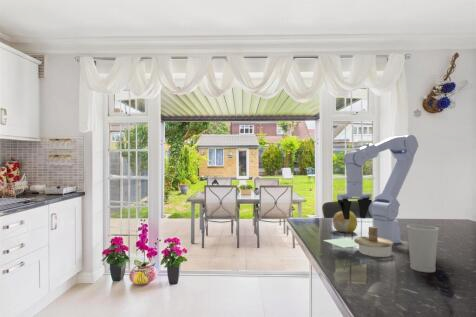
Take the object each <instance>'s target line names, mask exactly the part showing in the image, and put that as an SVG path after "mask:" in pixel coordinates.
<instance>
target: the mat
mask: <svg viewBox="0 0 476 317" xmlns="http://www.w3.org/2000/svg"><path fill="white" fill-rule="evenodd" d="M322 241H323V242H326V243H329V244H331V245H334V246H337V247H339V248H343V249H344V248H345V249H346V248H352V247H353V248H355V247H359V244H357V243H355V242H354V239H351V238H349V237H344V238H333V239H324V240H322Z"/></svg>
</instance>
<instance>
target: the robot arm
mask: <svg viewBox="0 0 476 317" xmlns="http://www.w3.org/2000/svg"><path fill="white" fill-rule="evenodd" d="M418 148H419V142H418V139H417V137H416V136H415V135H414V134H408V135H401V136H400V135H398V136H390V137H387V138H385V139H384V140H382V141H380V142H377V143H376V144H373V143H370V142H367V143H364V145H363V146H362V147H361V146H360V147H356V148H355V149H354V150H350V151H347V152H346V153H345V155H344V156H343V158H342V161H343V163H344V166H345V169H346V193H340V194H339V193H338V194H336V195H337V199H336V200H337V203H338V205H339V206H340V209H341V211H342V212H343V216H344V219H349V217H350V211H351V206H352V203H353V202H352V201H351V200H357V204H358V207H359V208H358V209H359V210H358V211H359V218H361V219H366V217H367V213H368V212H369V214H370V215H371V218H372V220H373V221H372V222H373V223H372V227H377V228H378V237H379V238H384V239H388V240H391V241H392V242H393V244H398V243H399V244H400V243H402V242H403V241H402V240H401V225H400V222H399V221H398V220H397V217H398V215H399V209H400V206H401V204H400V201H398V199H397V197H398V195H399V193H400V192H401V189H402V187H403V185H404V182H405V180H406V178H407V176H408V175H409V174H408V173H409V171H410V170H411V167H412V165H413V162H414V159H415V158H414V157H415V154H416V152H417V151H418ZM386 150H389V151H390V153H391V154H392V157H393V158H394V159H396V163H395V165H394V167H393V168H392V171H391V173H390V175H389V177H388V179H387V182H386V184H385V186H384V188H383V191H382V192H381V193H380V194H379V195H376V196H375V197H374V199H372V193H364V187H363V186H364V183H363V181H364V174H363V173H364V172H363V171H364V170H363V169H364V168H363V166H364V165H366V162H369V161H370V160H373V159H375V158H377V157H378V156H379V153H381V152H383V151H386ZM349 200H350V201H349ZM372 200H373V201H372Z"/></svg>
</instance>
